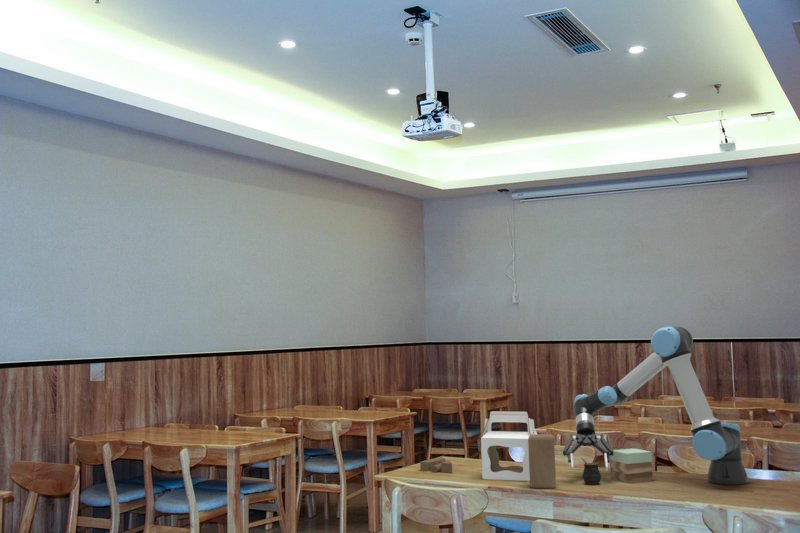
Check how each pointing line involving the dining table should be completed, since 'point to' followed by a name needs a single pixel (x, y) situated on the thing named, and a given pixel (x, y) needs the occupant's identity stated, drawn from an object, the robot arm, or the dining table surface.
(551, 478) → the block
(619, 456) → the slab top
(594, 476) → the mate gourd
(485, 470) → the gable box
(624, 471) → the slab middle
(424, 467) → the wooden block set
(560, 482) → the dining table surface
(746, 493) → the dining table surface
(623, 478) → the slab bottom
